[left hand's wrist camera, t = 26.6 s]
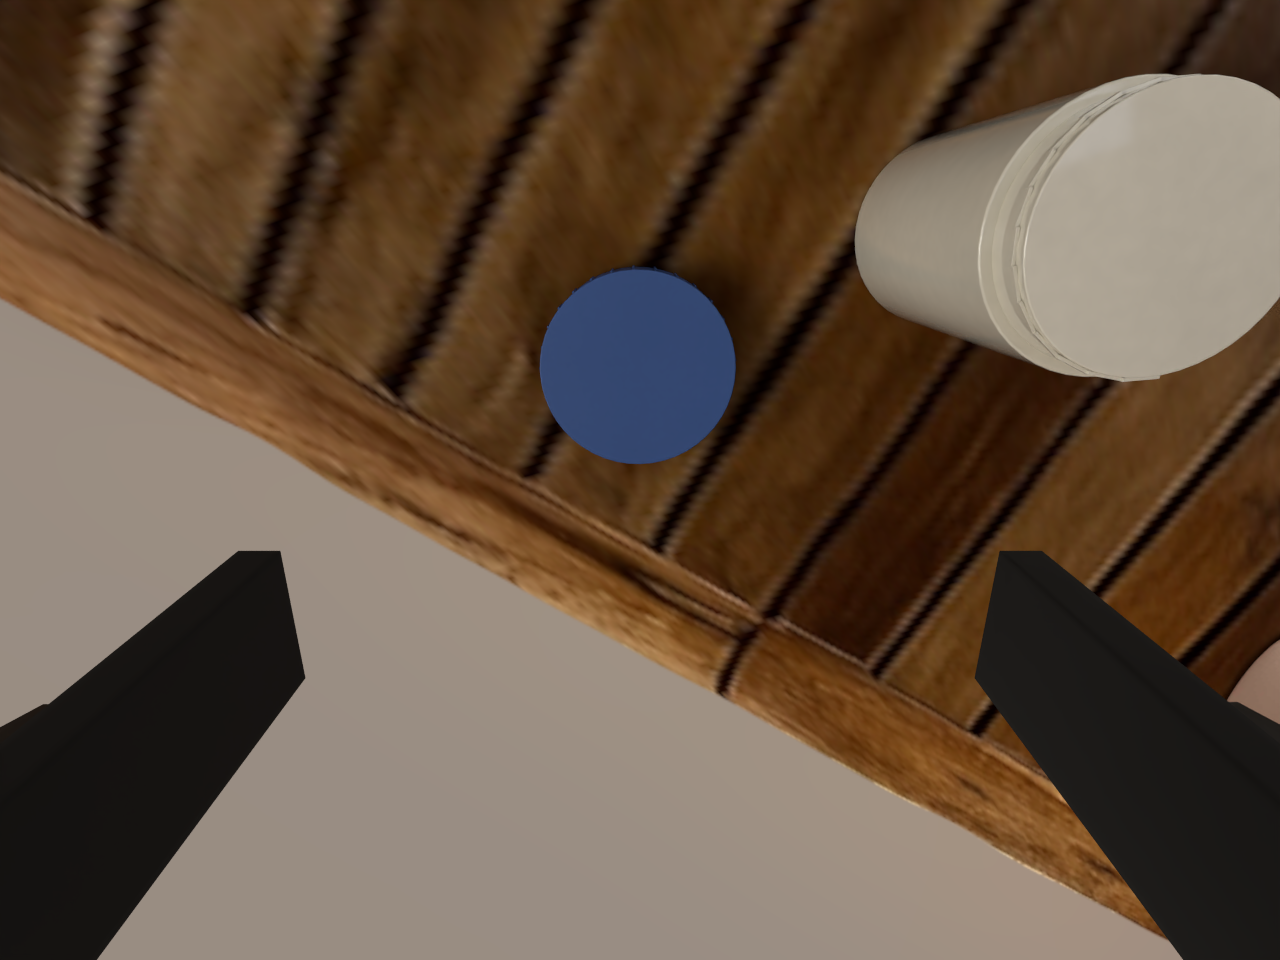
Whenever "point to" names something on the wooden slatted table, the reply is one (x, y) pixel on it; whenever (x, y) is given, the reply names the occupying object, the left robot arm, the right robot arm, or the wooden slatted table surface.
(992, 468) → the wooden slatted table surface
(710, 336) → the lid
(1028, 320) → the jar
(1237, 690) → the anatomical model
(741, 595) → the wooden slatted table surface
